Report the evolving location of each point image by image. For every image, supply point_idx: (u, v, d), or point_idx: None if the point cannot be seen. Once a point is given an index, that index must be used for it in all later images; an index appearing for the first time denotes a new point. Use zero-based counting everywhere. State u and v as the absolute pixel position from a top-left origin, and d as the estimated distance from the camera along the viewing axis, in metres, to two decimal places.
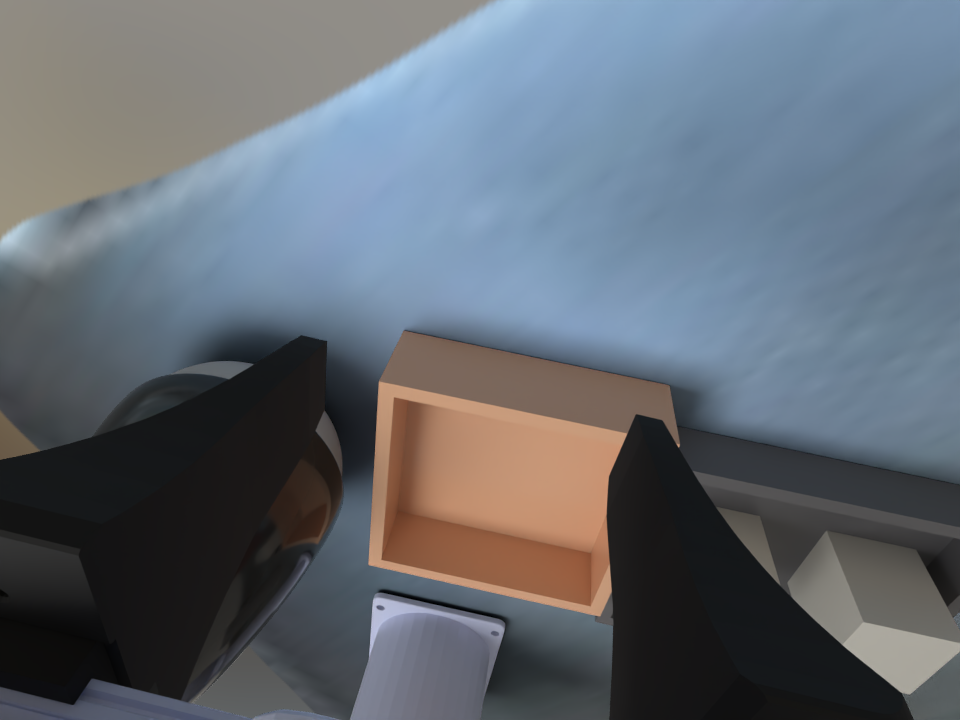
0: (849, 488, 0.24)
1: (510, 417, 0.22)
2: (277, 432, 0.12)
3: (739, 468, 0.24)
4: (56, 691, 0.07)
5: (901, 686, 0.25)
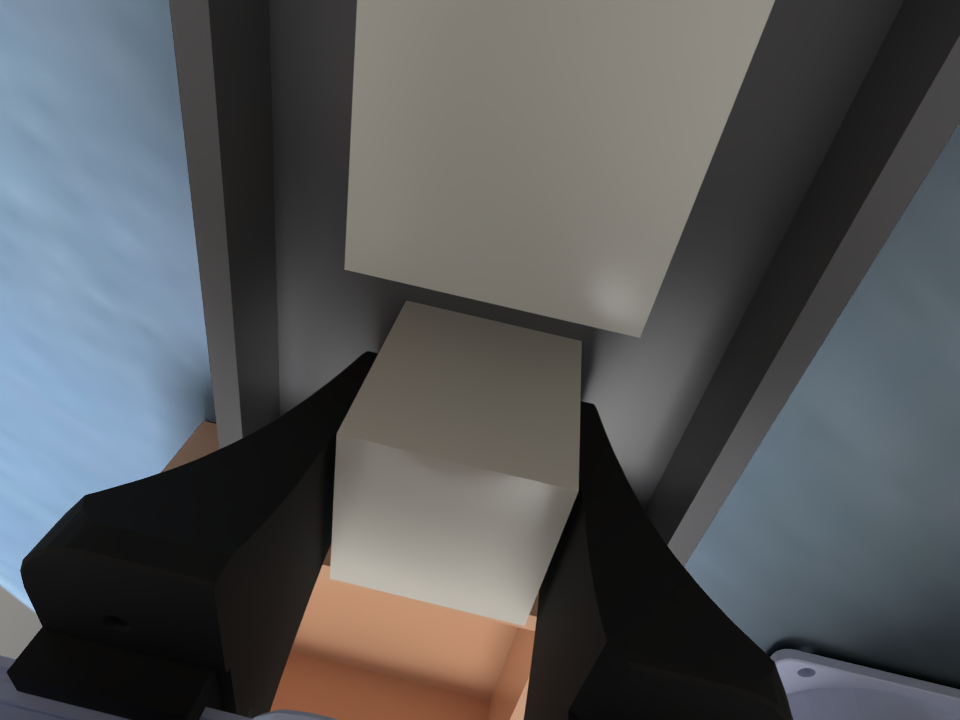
0: None
1: None
2: None
3: None
4: (56, 691, 0.07)
5: (708, 43, 0.06)
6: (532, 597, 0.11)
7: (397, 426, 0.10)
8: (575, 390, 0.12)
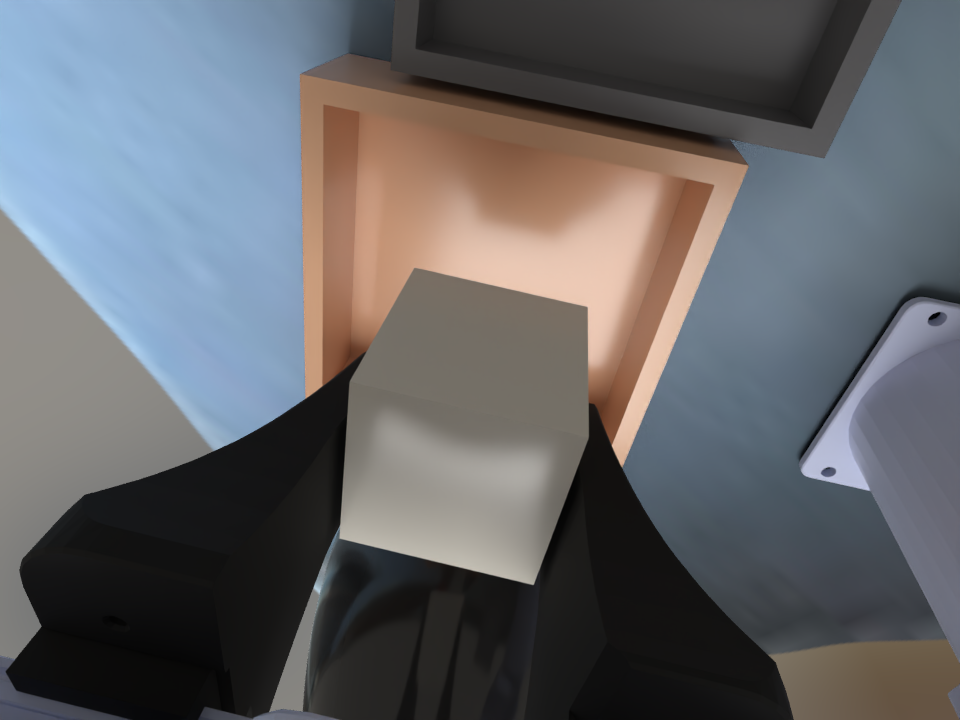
0: None
1: (316, 293, 0.18)
2: None
3: None
4: (56, 691, 0.07)
5: None
6: (541, 553, 0.11)
7: (408, 377, 0.10)
8: (582, 349, 0.12)
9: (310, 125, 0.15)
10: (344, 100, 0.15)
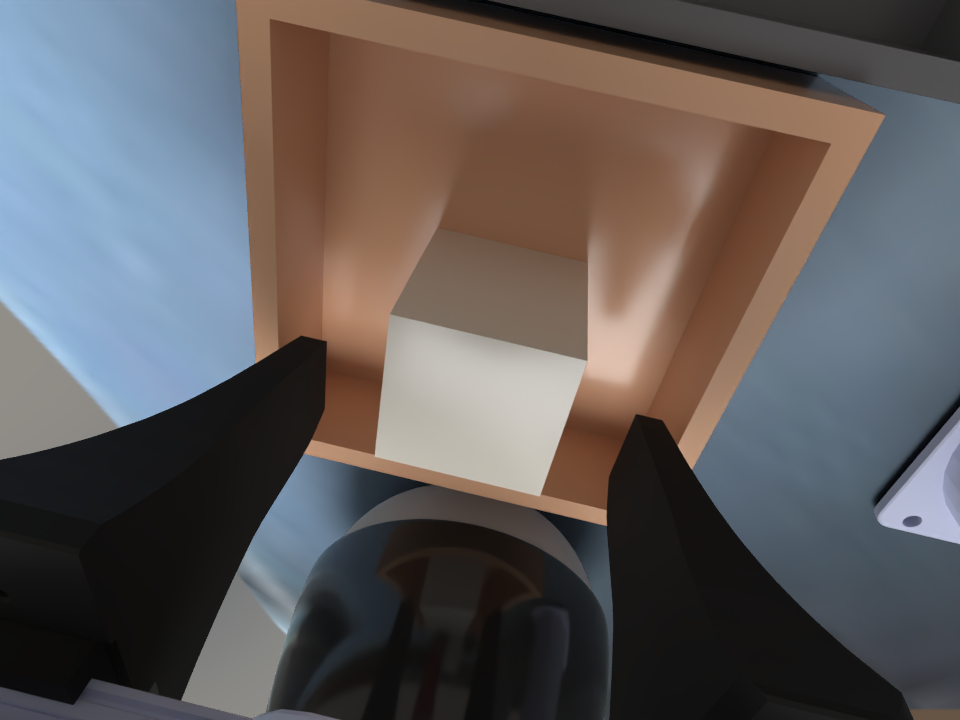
0: None
1: (268, 290, 0.14)
2: (277, 431, 0.12)
3: None
4: (56, 691, 0.07)
5: None
6: (547, 466, 0.13)
7: (438, 311, 0.12)
8: (583, 295, 0.14)
9: (252, 51, 0.11)
10: (299, 12, 0.10)
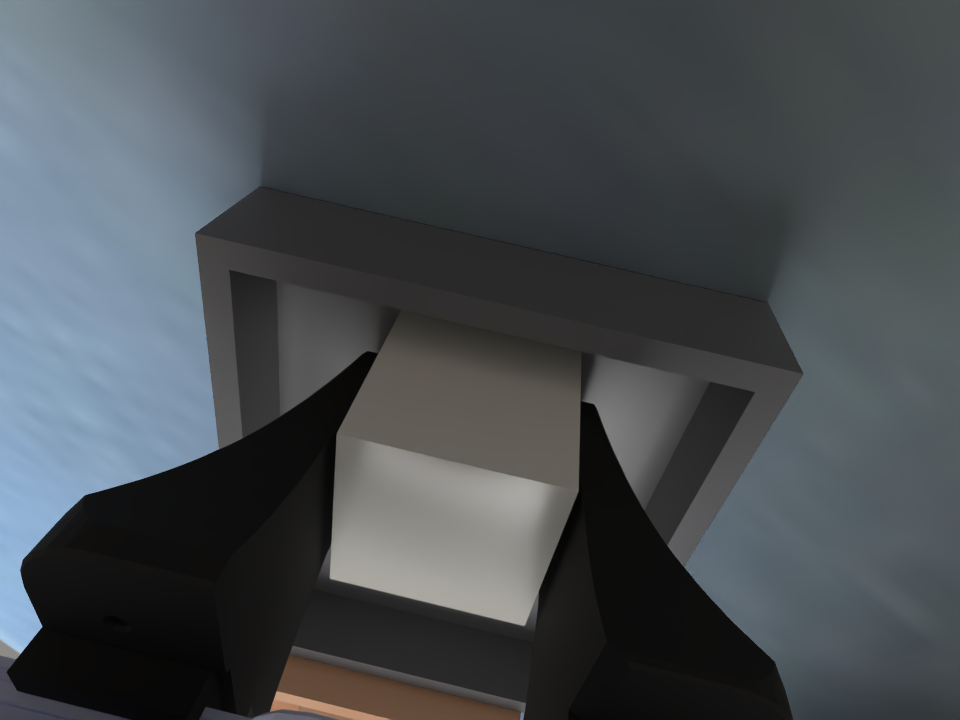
0: None
1: None
2: None
3: None
4: (56, 691, 0.07)
5: (542, 508, 0.10)
6: None
7: None
8: None
9: None
10: None
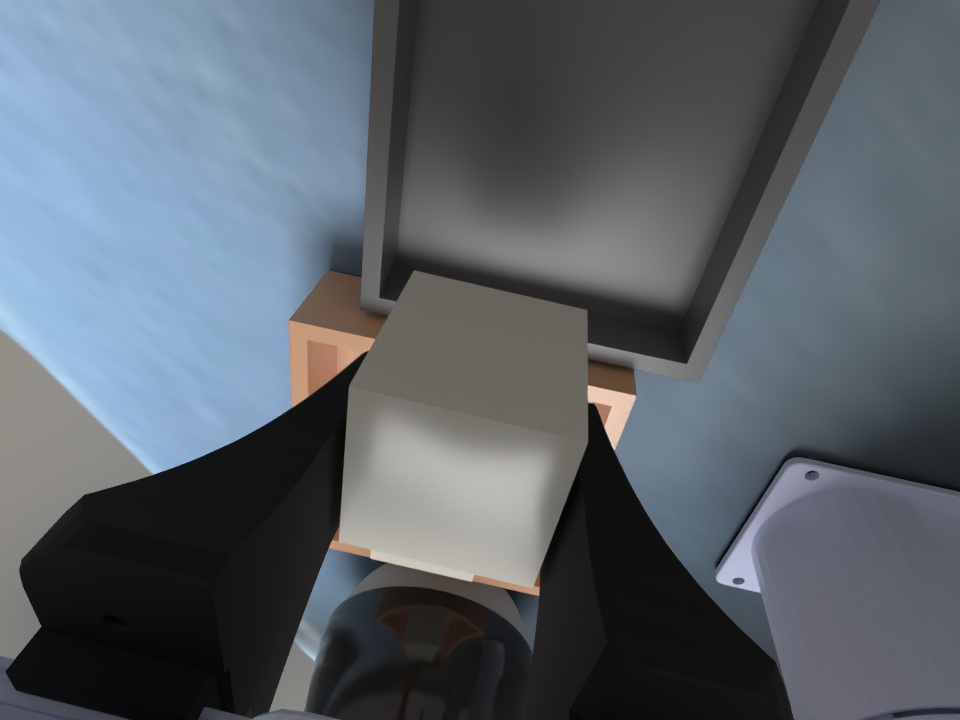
0: None
1: None
2: None
3: None
4: (56, 691, 0.07)
5: (551, 461, 0.10)
6: None
7: None
8: None
9: (297, 352, 0.20)
10: (323, 338, 0.19)
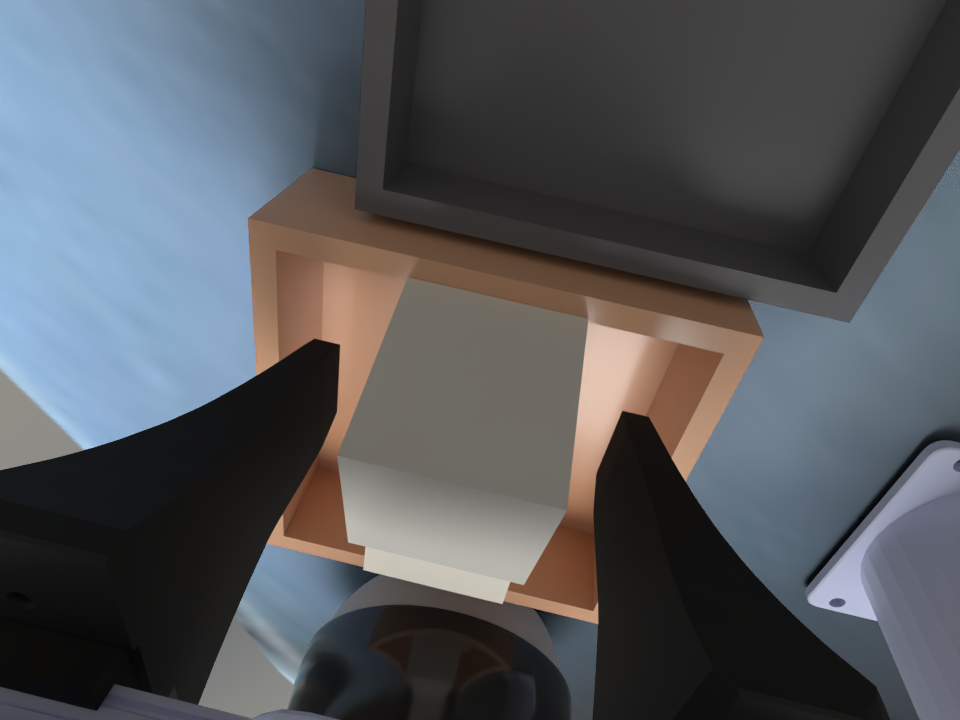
0: None
1: None
2: (292, 435, 0.12)
3: None
4: (56, 691, 0.07)
5: (533, 518, 0.11)
6: (507, 583, 0.16)
7: None
8: None
9: (261, 270, 0.13)
10: (299, 247, 0.13)
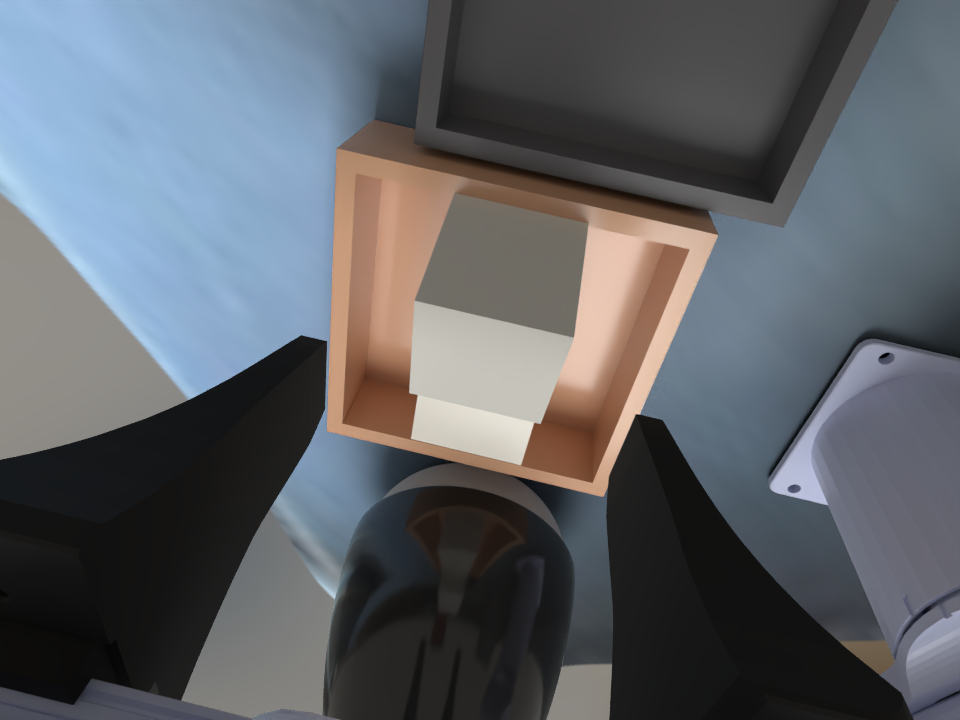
0: None
1: (341, 328, 0.21)
2: (277, 431, 0.12)
3: None
4: (56, 691, 0.07)
5: (550, 348, 0.15)
6: (525, 445, 0.21)
7: None
8: None
9: (343, 190, 0.18)
10: (374, 170, 0.17)
